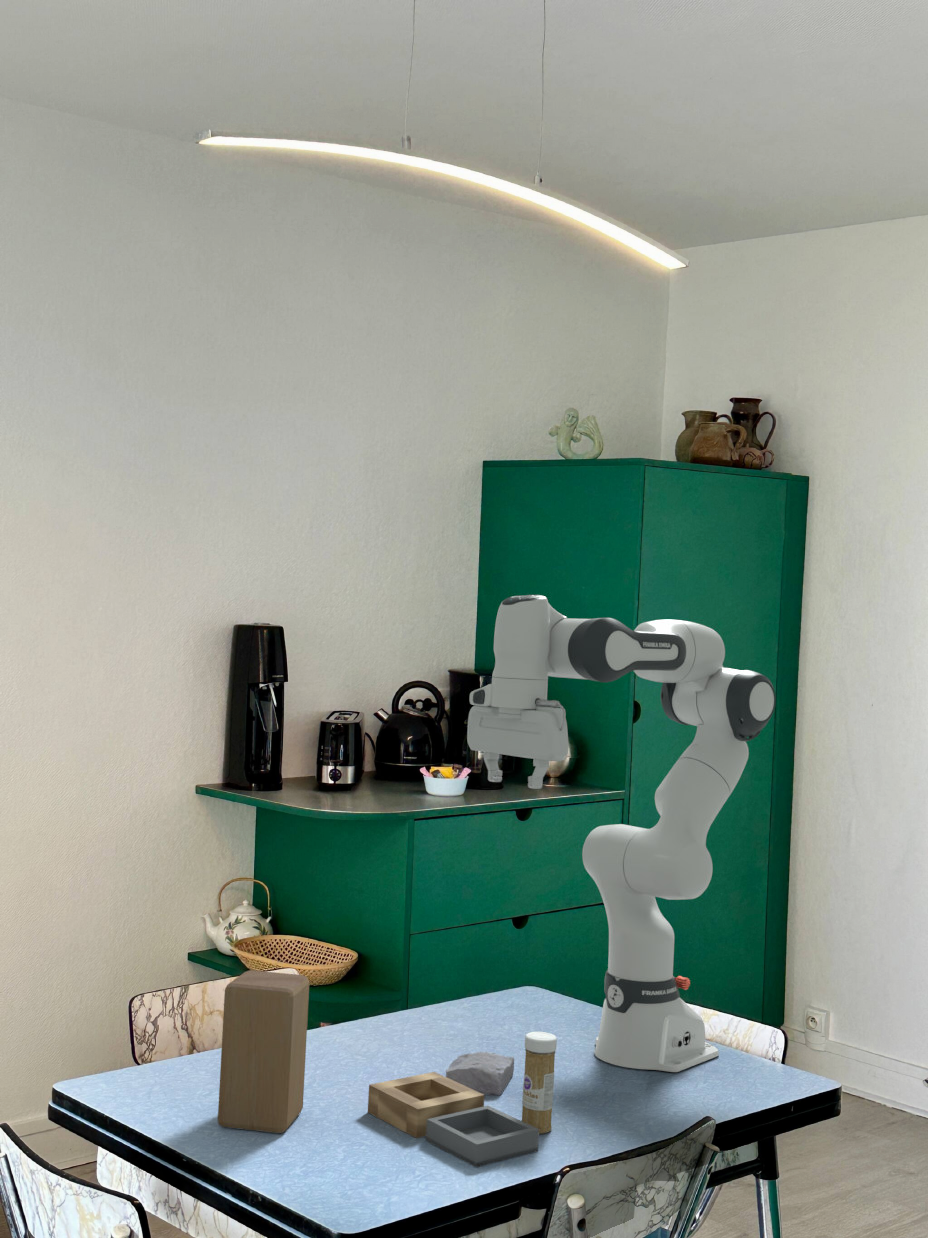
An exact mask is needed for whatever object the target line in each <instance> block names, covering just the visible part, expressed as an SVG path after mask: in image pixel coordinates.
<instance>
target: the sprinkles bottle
mask: <svg viewBox="0 0 928 1238" xmlns="http://www.w3.org/2000/svg"><path fill="white" fill-rule="evenodd" d="M557 1041H558V1038H557V1036H556V1035H555V1034H553V1033H550V1032H544V1031H532V1032H531V1031H530V1032H528V1033H526V1034H525V1036H524V1048H525V1049H524V1051H525V1059H524V1074H523V1075H524V1076H523V1085H522V1086H523V1087H522V1090H523V1091H522V1102H521V1103H522V1107H521V1108H522V1110H521V1113H522V1114H521V1121H522V1122H525V1123H527V1124H529V1125H531V1126H533V1127H535V1128H537V1129H539V1135H540V1134H541V1135H542V1134H547V1133H549V1132H550V1131H552V1129H553V1127H552V1115H553V1112H552V1111H553V1107H554V1105H553V1103H554V1102H553V1101H554V1087H555V1086H554V1085H555V1084H554V1083H555V1060H556V1059H555V1056H556V1051H557V1045H558V1044H557Z"/></svg>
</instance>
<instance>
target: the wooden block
mask: <svg viewBox="0 0 928 1238" xmlns="http://www.w3.org/2000/svg"><path fill="white" fill-rule="evenodd" d="M224 988H225V989H224V997H223V998H224V999H223V1015H222V1016H223V1017H222V1036H221V1053H220V1055H221V1056H220V1068H219V1069H220V1072H219V1087H218V1088H219V1089H218V1090H219V1092H218V1105H217V1106H218V1109H217V1110H218V1111H217V1122H218V1125H219V1127H220V1126H221V1127H223V1128H228V1127H229V1129H237V1128H238V1129H239V1130H246V1129H247V1131H255V1130H256V1132H264V1133H265V1132H266V1133H274V1134H275V1133H276V1134H282V1133H284V1132H286V1130H287V1129H288V1128H289V1127H290V1126H291V1125H292V1123H293V1122H294V1121H295V1120H296V1118H298V1116H299V1115H300V1114H301V1112H302V1111H303V1108H304V1107H303V1106H304V1091H305V1074H306V1073H305V1071H306V1053H307V1034H308V1033H307V1032H308V1018H309V1017H308V1015H309V999H310V997H309V996H310V995H309V994H310V980H309V977H308V976H306V975H304V974H295V973H287V972H286V973H285V972H284V973H283V972H273V971H263V970H262V971H261V970H252V969H250V970H247V971H244V972H243V973H242V974H241V975H239V976H237V977H236V978H235V979H233V980H231V982H229V983H227V984H226V986H225V987H224Z"/></svg>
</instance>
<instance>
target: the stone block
mask: <svg viewBox="0 0 928 1238" xmlns="http://www.w3.org/2000/svg"><path fill="white" fill-rule="evenodd" d="M514 1072H515V1056H513V1055H512V1056H505V1055H503V1054H498V1053H494V1052H487V1051H485V1052H484V1051H478V1052H477V1051H476V1052H474V1053H470V1052H469V1053H466V1054H461V1055H458V1056H457V1058H456V1059H454V1060H453V1061H452V1062H451V1063H450V1065H449V1066H448V1068H447V1069H446V1071H445V1077H447V1078H449V1079H451V1080H453V1081H455V1082H457V1083H460V1084H462V1085H464V1086H466V1087H468V1088H471V1089H473V1090H475V1091H477V1092H479V1093H481V1094H484V1095H486V1096H487V1095H489V1096H501V1095H502V1094H503V1093H504V1092H505V1089H506V1087H507V1085H508V1084H509V1082H510V1080H511V1079H513V1078H512V1077H513V1075H514Z"/></svg>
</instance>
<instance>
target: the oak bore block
mask: <svg viewBox="0 0 928 1238" xmlns="http://www.w3.org/2000/svg"><path fill="white" fill-rule="evenodd" d="M367 1100H368V1101H367V1113H369V1114H371V1115H372V1116H374V1117H376V1118H378V1119H380V1120H382V1122H383V1121H384V1122H385V1123H387V1124H389V1125H391V1126H393V1127H394V1128H396V1129H399V1130H400V1131H402V1132H404V1133H405V1134H408V1135H410V1136H412V1137H414V1138H416V1139H419V1138H423V1137H426V1129H427V1119H430V1118H434V1117H439V1116H443V1115H448V1114H452V1113H457V1112H461V1111H466V1110H470V1109H475V1108H479V1107H483V1106H485V1094H481V1093H479V1092H477V1091H475V1090H473V1089H471V1088H468V1087H466V1086H464V1085H462V1084H460V1083H457V1082H455V1081H453V1080H451V1079H449V1078H447V1077H446V1076H445V1075H442V1074H440V1073H437V1072H436V1071H432V1072H426V1073H422V1074H416V1075H412V1076H406V1077H401V1078H396V1079H392V1080H390V1079H389V1080H386V1081H382V1082H375V1083H371V1084H369V1085H368V1098H367Z"/></svg>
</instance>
